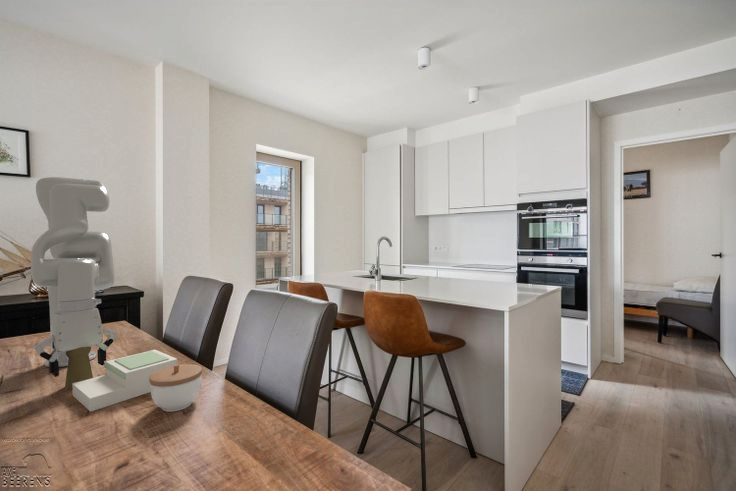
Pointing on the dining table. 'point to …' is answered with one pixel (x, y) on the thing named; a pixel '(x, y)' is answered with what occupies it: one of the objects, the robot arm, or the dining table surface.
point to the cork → (78, 366)
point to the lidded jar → (175, 386)
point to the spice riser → (121, 379)
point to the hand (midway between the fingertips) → (79, 369)
